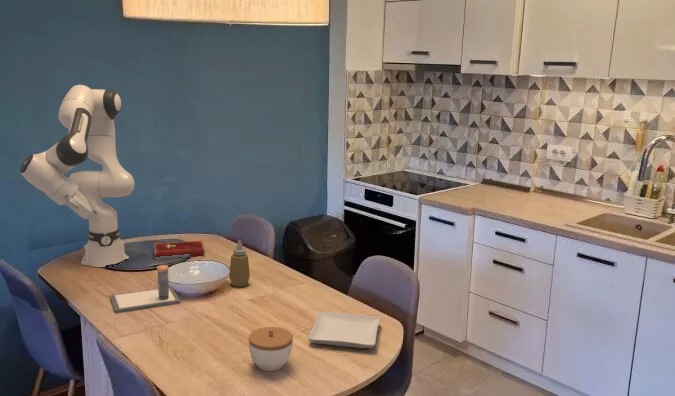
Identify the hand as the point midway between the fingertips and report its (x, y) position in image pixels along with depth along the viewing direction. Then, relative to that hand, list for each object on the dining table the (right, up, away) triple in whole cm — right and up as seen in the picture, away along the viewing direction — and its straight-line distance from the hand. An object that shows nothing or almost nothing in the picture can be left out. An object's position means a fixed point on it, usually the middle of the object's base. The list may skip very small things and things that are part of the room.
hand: (97, 217), depth 209 cm
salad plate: (+88, -38, -16) cm, 97 cm away
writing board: (+16, -30, +4) cm, 34 cm away
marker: (+22, -29, +3) cm, 37 cm away
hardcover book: (+15, -18, +54) cm, 59 cm away
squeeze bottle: (+47, -27, +22) cm, 58 cm away
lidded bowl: (+65, -42, -37) cm, 86 cm away
